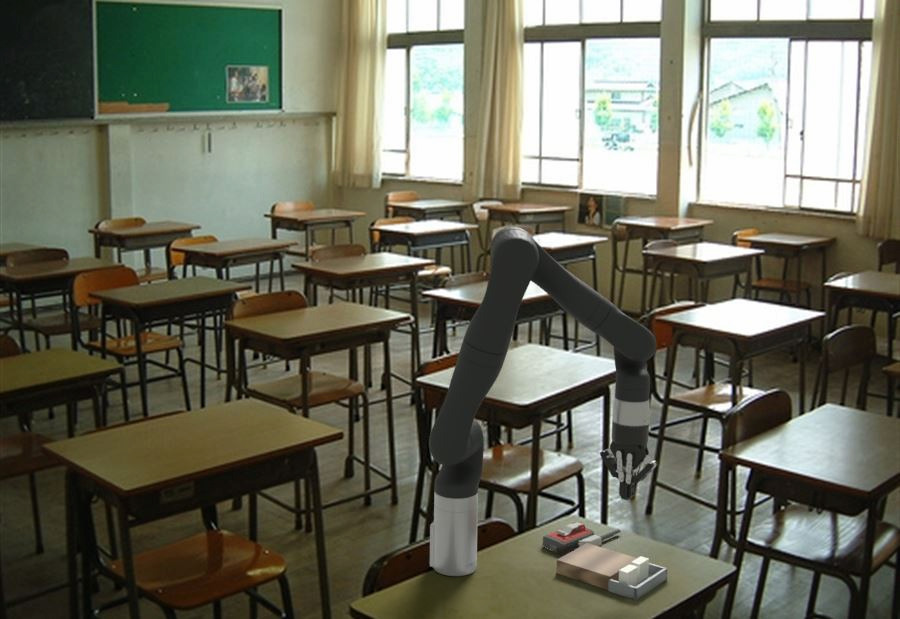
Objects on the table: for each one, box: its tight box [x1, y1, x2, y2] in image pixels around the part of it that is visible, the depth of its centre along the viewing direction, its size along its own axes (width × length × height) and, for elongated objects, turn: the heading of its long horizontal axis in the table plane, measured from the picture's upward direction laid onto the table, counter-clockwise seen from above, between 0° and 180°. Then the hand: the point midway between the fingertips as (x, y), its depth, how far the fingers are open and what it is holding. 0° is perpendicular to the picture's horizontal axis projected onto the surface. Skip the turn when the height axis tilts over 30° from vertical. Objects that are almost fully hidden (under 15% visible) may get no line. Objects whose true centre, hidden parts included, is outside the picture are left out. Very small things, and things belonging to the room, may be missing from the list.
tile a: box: [619, 564, 638, 586], centre depth 233 cm, size 4×4×2 cm
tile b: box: [631, 555, 650, 583], centre depth 237 cm, size 4×4×2 cm
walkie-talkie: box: [542, 521, 621, 555], centre depth 258 cm, size 9×4×20 cm
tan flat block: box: [556, 543, 638, 591], centre depth 241 cm, size 13×12×3 cm
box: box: [607, 562, 668, 601], centre depth 235 cm, size 6×13×2 cm, turn 141°
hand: (626, 498), depth 237 cm, fingers closed
